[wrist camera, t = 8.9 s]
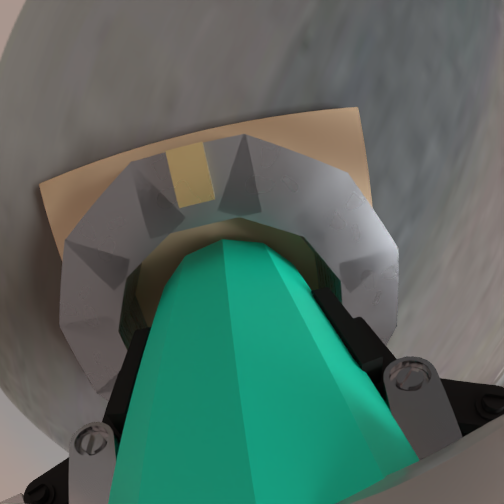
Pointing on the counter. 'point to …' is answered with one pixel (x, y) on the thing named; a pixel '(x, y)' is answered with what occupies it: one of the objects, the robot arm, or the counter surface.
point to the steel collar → (211, 211)
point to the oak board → (188, 241)
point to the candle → (250, 394)
